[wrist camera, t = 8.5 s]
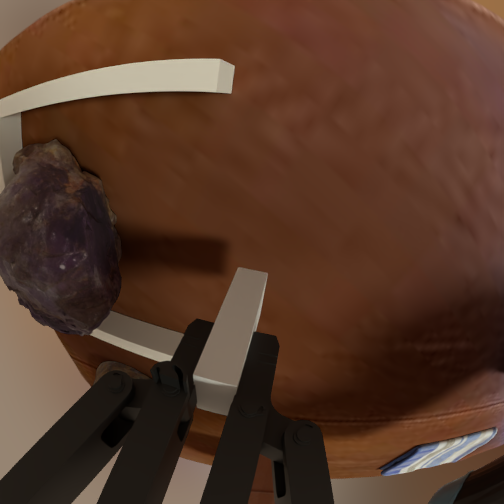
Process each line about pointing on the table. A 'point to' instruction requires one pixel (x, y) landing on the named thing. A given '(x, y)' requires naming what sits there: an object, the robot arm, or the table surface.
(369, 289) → the table surface
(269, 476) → the potted plant
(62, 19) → the table surface
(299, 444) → the robot arm
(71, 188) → the rock
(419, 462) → the dish towel
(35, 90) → the bay
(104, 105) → the table surface
